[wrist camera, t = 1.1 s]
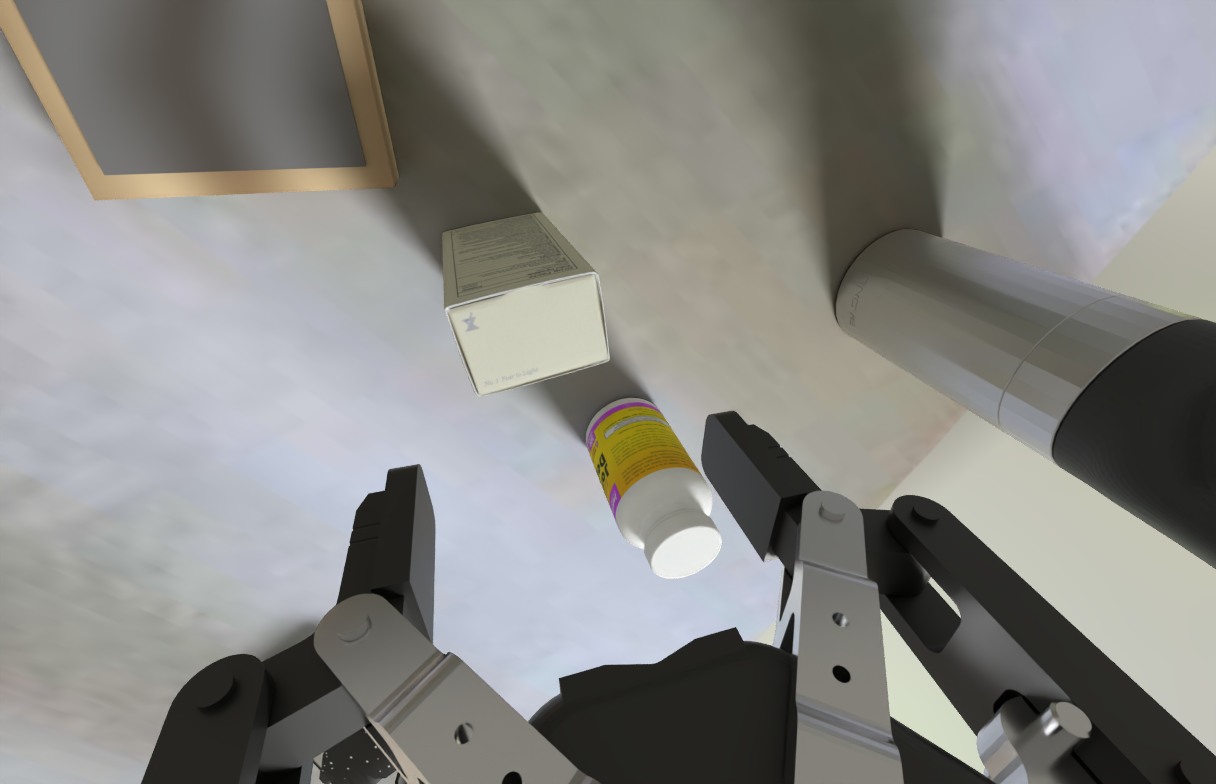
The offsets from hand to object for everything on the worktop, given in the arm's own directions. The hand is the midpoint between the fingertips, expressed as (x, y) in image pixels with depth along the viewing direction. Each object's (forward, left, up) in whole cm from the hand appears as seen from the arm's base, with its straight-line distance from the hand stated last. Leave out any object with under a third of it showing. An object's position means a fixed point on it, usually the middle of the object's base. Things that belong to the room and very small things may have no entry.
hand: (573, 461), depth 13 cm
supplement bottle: (-8, +15, -20) cm, 26 cm away
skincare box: (0, 0, -20) cm, 20 cm away
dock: (+11, -10, -20) cm, 25 cm away
